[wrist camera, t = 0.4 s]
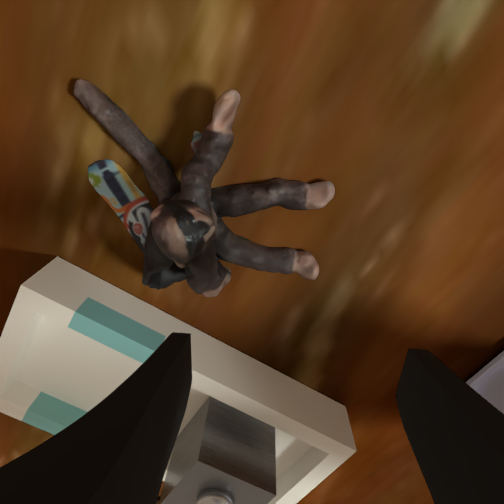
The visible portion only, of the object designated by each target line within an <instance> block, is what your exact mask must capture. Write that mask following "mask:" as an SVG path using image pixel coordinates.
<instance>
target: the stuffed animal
mask: <svg viewBox="0 0 504 504" xmlns="http://www.w3.org/2000/svg"><path fill="white" fill-rule="evenodd" d="M73 93H74V95H75V96H76V97H77V98H78V99H79V101H80V102H81V103H82V104H83V106H84V107H85V108H86V109H87V110H88V111H89V112H90V113H91V114H92V115H93V116H94V117H95V118H96V119H97V120H98V122H99V123H100V124H101V125H102V126H104V127H105V129H106V130H107V131H108V132H109V133H110V134H111V136H112V137H113V138H114V139H115V140H116V141H117V142H118V143H119V144H120V145H121V146H122V147H123V148H124V149H125V150H126V151H127V152H128V153H130V154H131V155H132V156H133V157H134V158H136V160H137V161H138V162H139V163H140V164H141V166H142V168H143V171H144V174H145V176H146V178H147V180H148V182H149V185H150V188H151V189H152V190H153V192H154V193H155V195H156V196H157V198H158V200H159V206H158V207H157V208H156V209H154V210H153V209H152V207H151V205H150V203H149V200H148V199H147V197H146V196H145V195H144V194H143V193H142V192H141V191H140V190H139V189H138V187H137V186H136V185H135V184H134V183H133V181H132V180H131V179H130V177H129V176H128V175H127V173H126V172H125V171H124V170H123V169H122V168H121V167H120V166H119V165H118V164H117V163H115V162H114V161H111V160H98V161H96V162H94V163H92V164H90V165H89V167H88V178H89V181H90V183H91V184H92V186H93V187H94V189H95V190H96V191H97V192H98V193H99V194H100V195H101V196H102V198H103V199H104V200H105V201H106V202H107V203H108V204H109V206H110V207H111V208H112V209H113V210H114V212H115V213H116V214H117V215H118V217H119V218H120V219H121V221H122V222H123V223H124V225H125V227H126V228H127V230H128V231H129V233H130V234H131V236H132V237H133V239H134V240H135V242H136V243H137V244H138V246H139V247H140V249H141V250H142V251H143V253H144V269H143V278H142V283H143V284H144V285H149V287H150V288H156V289H161V288H166V287H168V286H170V285H171V284H173V283H174V282H180V281H182V280H185V279H187V283H188V285H189V286H190V287H191V289H192V290H194V291H195V292H196V293H197V294H202V295H203V296H206V297H214V296H217V295H218V294H219V292H220V291H221V290H222V288H223V287H224V286H225V285H226V284H227V283H228V282H229V281H230V280H231V271H230V270H229V269H228V268H225V267H223V266H222V265H221V263H220V262H219V259H220V260H224V261H227V262H230V263H234V264H236V265H241V266H244V267H249V268H253V269H256V270H259V271H268V272H280V273H283V274H291V273H293V272H296V273H297V274H299V275H300V276H302V277H303V278H306V279H310V280H315V279H316V278H317V276H318V274H319V266H318V264H317V262H316V260H315V258H314V257H313V256H312V254H311V253H309V252H307V251H297V250H295V249H292V248H288V247H283V248H278V247H266V246H263V245H260V244H257V243H254V242H252V241H250V240H248V239H246V238H244V237H241V236H238V235H235V234H234V233H233V232H232V231H231V230H230V229H229V228H228V227H227V226H226V225H225V224H224V222H223V221H222V219H221V217H226V216H230V217H237V216H241V215H245V214H249V213H253V212H256V211H259V210H263V209H267V208H270V207H272V206H282V207H284V208H286V209H291V210H309V209H320V208H323V207H324V206H325V205H326V204H327V203H328V202H329V201H330V200H331V199H332V198H333V197H334V193H335V187H334V185H333V184H332V183H331V182H329V181H323V182H317V183H312V184H308V183H305V182H301V181H295V180H293V181H288V180H284V179H280V178H278V179H272V180H269V181H266V182H263V183H259V184H251V183H247V184H237V185H233V186H223V187H217V188H212V189H211V183H212V179H213V177H214V175H215V174H216V173H217V172H218V171H219V169H220V168H221V166H222V164H223V162H224V160H225V159H226V156H227V154H228V152H229V150H230V148H231V146H232V143H233V132H232V122H233V120H234V117H235V114H236V110H237V107H238V104H239V102H240V95H239V93H238V92H237V91H236V90H233V89H230V90H227V91H225V92H224V93H223V94H222V95H221V96H220V97H219V98H218V100H217V101H216V103H215V105H214V108H213V119H212V121H211V122H210V123H209V125H208V126H207V127H206V128H205V130H204V131H203V133H202V134H201V133H200V132H198V131H194V136H193V140H192V142H191V143H190V147H191V149H192V151H193V153H194V154H195V155H194V157H193V158H192V159H190V160H189V161H188V162H187V163H186V164H185V166H184V167H183V169H182V172H181V183H180V182H179V181H178V180H177V178H176V176H175V174H174V173H173V171H172V169H171V165H170V162H169V161H168V160H167V159H166V158H164V157H162V156H161V155H160V154H159V152H158V150H157V148H156V147H155V145H154V144H153V143H152V142H151V141H149V140H148V139H147V138H146V137H145V136H144V135H143V133H142V132H141V131H140V130H139V128H138V127H137V126H136V125H135V124H134V122H133V121H132V120H131V119H130V117H129V116H128V115H127V114H126V113H125V112H124V111H123V110H122V109H121V108H120V107H118V106H117V105H116V104H115V103H114V102H112V100H111V99H110V98H109V97H108V96H107V95H106V94H104V93H103V92H102V91H101V90H100V89H98V88H97V87H96V86H95V85H93V84H92V83H90V82H88V81H86V80H82V79H78V80H77V81H76V82H75V84H74V92H73Z"/></svg>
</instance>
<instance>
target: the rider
mask: <svg viewBox="0 0 504 504" xmlns="http://www.w3.org/2000/svg"><path fill="white" fill-rule="evenodd" d="M275 496H276V448H275V427H273V426H271V425H269V424H267V423H265V422H262V421H260V420H258V419H256V418H254V417H252V416H250V415H248V414H246V413H244V412H242V411H240V410H238V409H236V408H234V407H232V406H229V405H227V404H225V403H223V402H221V401H219V400H217V399H215V398H213V397H211V396H209V397H208V399H207V400H206V401H205V402H204V404H203V405H202V406H201V408H200V409H199V410H198V411H197V413H196V414H195V415H194V416H193V418H192V419H191V420H190V422H189V423H188V424H187V425H186V427H185V428H184V429H183V430H182V432H181V433H180V434H179V435H178V437H177V438H176V441H175V444H174V448H173V452H172V455H171V459H170V463H169V466H168V470H167V474H166V478H165V481H164V485H163V489H162V493H161V496H160V500H159V504H268V503H269V502H270V501H271V500H272V499H273V498H274V497H275Z"/></svg>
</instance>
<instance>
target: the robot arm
mask: <svg viewBox="0 0 504 504" xmlns="http://www.w3.org/2000/svg"><path fill="white" fill-rule="evenodd" d="M191 384H192V358H191V333H177V332H172V333H171V334H170V335H169V336H168V337H167V338H166V339H165V340H164V341H163V343H162V344H161V345H160V346H159V347H158V348H157V349H156V350H155V351H154V352H153V353H152V354H151V355H150V357H149V358H148V359H147V360H146V361H145V362H144V363H143V364H142V365H141V366H140V367H139V368H138V369H137V370H136V371H135V372H134V373H133V374H132V375H130V376H129V377H128V378H127V379H126V380H125V381H124V382H123V383H122V384H121V385H120V386H118V387H117V388H116V389H115V390H114V391H113V392H112V393H111V394H109V395H108V396H107V397H106V398H105V399H103V400H102V401H101V402H100V403H99V404H97V405H96V406H95V407H94V408H92V409H91V410H90V411H88V412H87V413H86V414H84V415H83V416H82V417H80V418H79V419H78V420H76V421H75V422H73V423H72V424H70V425H69V426H68V427H66V428H65V429H63V430H62V431H60V432H59V433H57V434H56V435H54V436H53V437H51V438H50V439H48V440H47V441H45V442H43V443H42V444H40V445H38V446H37V447H35V448H34V449H32V450H30V451H29V452H27V453H25V454H23V455H22V456H20V457H18V458H16V459H15V460H13V461H11V462H9V463H8V464H6V465H4V466H2V467H0V504H156V503H157V498H158V494H159V491H160V487H161V484H162V480H163V477H164V474H165V471H166V468H167V465H168V462H169V459H170V456H171V453H172V450H173V447H174V444H175V441H176V438H177V435H178V432H179V429H180V426H181V423H182V420H183V417H184V414H185V411H186V407H187V403H188V398H189V394H190V389H191ZM395 396H396V400H397V404H398V408H399V412H400V416H401V419H402V423H403V426H404V429H405V431H406V434H407V437H408V439H409V442H410V444H411V447H412V449H413V452H414V454H415V456H416V459H417V461H418V464H419V466H420V469H421V471H422V474H423V476H424V478H425V481H426V483H427V486H428V488H429V491H430V493H431V496H432V498H433V501H434V503H435V504H504V351H503V352H501V353H500V354H499V355H498V356H497V357H495V358H494V359H493V360H492V361H491V362H489V363H488V364H487V365H486V366H485V367H483V368H482V369H481V370H480V371H479V372H477V373H476V374H475V375H474V376H473V377H471V378H470V379H469V380H468V381H467V382H464V381H463V380H462V379H461V378H460V377H459V376H458V375H456V374H455V373H454V372H453V371H452V370H451V369H450V368H448V367H447V366H446V365H445V364H444V363H443V362H441V361H440V360H439V359H438V358H437V357H435V356H434V355H433V354H432V353H431V352H429V351H428V350H420V349H408V352H407V356H406V359H405V363H404V366H403V370H402V374H401V377H400V381H399V384H398V388H397V391H396V395H395Z"/></svg>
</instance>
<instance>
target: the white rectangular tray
mask: <svg viewBox="0 0 504 504" xmlns="http://www.w3.org/2000/svg"><path fill="white" fill-rule="evenodd" d="M172 332H177V333H191V358H192V384H191V389H190V394H189V398H188V403H187V407H186V411H185V414H184V417H183V420H182V423H181V426H180V429H179V432H178V435H179V434H180V433H181V432H182V430H183V429H184V428H185V427H186V425H187V424H188V423H189V422H190V420H191V419H192V418H193V416H194V415H195V414H196V413H197V411H198V410H199V409H200V408H201V406H202V405H203V404H204V402H205V401H206V400H207V399H208V397H209V396H211V397H213V398H215V399H217V400H219V401H221V402H223V403H225V404H227V405H229V406H232V407H234V408H236V409H238V410H240V411H242V412H244V413H246V414H248V415H250V416H252V417H254V418H256V419H258V420H260V421H262V422H265V423H267V424H269V425H271V426H273V427H275V448H276V496H275V497H274V498H273V499H272V500H271V501H270V502H269V503H268V504H296V503H297V502H299V501H300V500H301V499H302V498H303V497H304V496H306V495H307V494H308V493H309V492H310V491H311V490H312V489H314V488H315V487H316V486H317V485H318V484H319V483H320V482H322V481H323V480H324V479H325V478H326V477H327V476H328V475H330V474H331V473H332V472H333V471H334V470H335V469H336V468H338V467H339V466H340V465H341V464H342V463H343V462H345V461H346V460H347V459H348V458H349V457H350V456H351V455H353V454H354V453H355V452H356V447H355V443H354V439H353V435H352V430H351V426H350V422H349V418H348V414H347V410H346V406H344V405H342V404H340V403H338V402H336V401H334V400H332V399H330V398H328V397H327V396H325V395H323V394H321V393H319V392H317V391H315V390H313V389H311V388H309V387H307V386H305V385H304V384H302V383H300V382H298V381H296V380H294V379H292V378H290V377H288V376H286V375H284V374H282V373H280V372H279V371H277V370H275V369H273V368H271V367H269V366H267V365H265V364H263V363H261V362H259V361H257V360H255V359H254V358H252V357H250V356H248V355H246V354H244V353H242V352H240V351H238V350H236V349H234V348H232V347H231V346H229V345H227V344H225V343H223V342H221V341H219V340H217V339H215V338H213V337H211V336H209V335H207V334H206V333H204V332H202V331H200V330H198V329H196V328H194V327H192V326H190V325H188V324H186V323H184V322H183V321H181V320H179V319H177V318H175V317H173V316H171V315H169V314H167V313H165V312H163V311H161V310H159V309H158V308H156V307H154V306H152V305H150V304H148V303H146V302H144V301H142V300H140V299H138V298H136V297H134V296H133V295H131V294H129V293H127V292H125V291H123V290H121V289H119V288H117V287H115V286H113V285H111V284H110V283H108V282H106V281H104V280H102V279H100V278H98V277H96V276H94V275H92V274H90V273H88V272H86V271H85V270H83V269H81V268H79V267H77V266H75V265H73V264H71V263H69V262H67V261H65V260H63V259H61V258H60V257H58V256H57V257H56V258H55V259H53V260H52V261H51V262H50V263H48V264H47V265H46V266H44V267H43V268H42V269H41V270H39V271H38V272H37V273H35V274H34V275H33V276H32V277H30V278H29V279H28V280H26V281H25V282H24V283H23V284H21V286H20V288H19V291H18V294H17V296H16V299H15V301H14V304H13V306H12V309H11V311H10V314H9V317H8V319H7V322H6V324H5V327H4V329H3V332H2V334H1V337H0V412H1V413H4V414H6V415H8V416H11V417H13V418H16V419H18V420H20V421H23V422H25V423H27V424H30V425H32V426H35V427H37V428H39V429H42V430H44V431H46V432H49V433H51V434H53V435H56V434H57V433H59V432H60V431H62V430H63V429H65V428H66V427H68V426H69V425H70V424H72V423H73V422H75V421H76V420H78V419H79V418H80V417H82V416H83V415H84V414H86V413H87V412H88V411H90V410H91V409H92V408H94V407H95V406H96V405H97V404H99V403H100V402H101V401H102V400H103V399H105V398H106V397H107V396H108V395H109V394H111V393H112V392H113V391H114V390H115V389H116V388H117V387H118V386H120V385H121V384H122V383H123V382H124V381H125V380H126V379H127V378H128V377H129V376H130V375H132V374H133V373H134V372H135V371H136V370H137V369H138V368H139V367H140V366H141V365H142V364H143V363H144V362H145V361H146V360H147V359H148V358H149V357H150V355H151V354H152V353H153V352H154V351H155V350H156V349H157V348H158V347H159V346H160V345H161V344H162V343H163V341H164V340H165V339H166V338H167V337H168V336H169V335H170V334H171V333H172ZM178 435H177V437H178ZM173 448H174V447H173ZM172 452H173V450H172ZM171 455H172V453H171ZM170 459H171V456H170ZM170 459H169V462H168V465H167V468H166V471H165V474H164V477H163V480H162V481H165V478H166V474H167V470H168V466H169V463H170Z"/></svg>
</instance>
